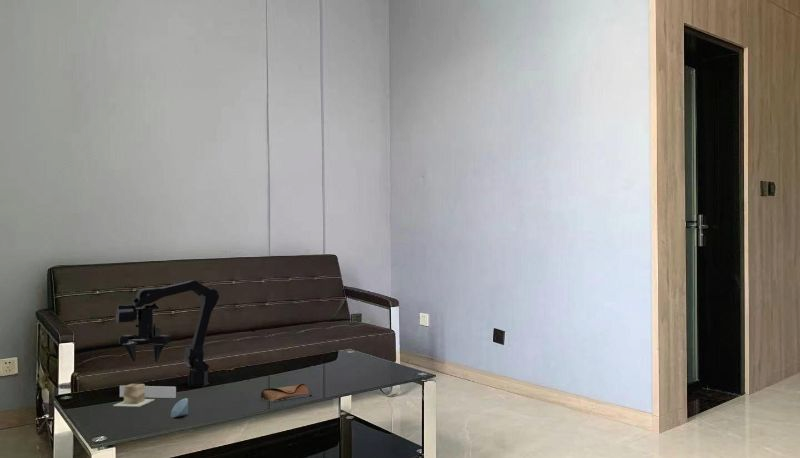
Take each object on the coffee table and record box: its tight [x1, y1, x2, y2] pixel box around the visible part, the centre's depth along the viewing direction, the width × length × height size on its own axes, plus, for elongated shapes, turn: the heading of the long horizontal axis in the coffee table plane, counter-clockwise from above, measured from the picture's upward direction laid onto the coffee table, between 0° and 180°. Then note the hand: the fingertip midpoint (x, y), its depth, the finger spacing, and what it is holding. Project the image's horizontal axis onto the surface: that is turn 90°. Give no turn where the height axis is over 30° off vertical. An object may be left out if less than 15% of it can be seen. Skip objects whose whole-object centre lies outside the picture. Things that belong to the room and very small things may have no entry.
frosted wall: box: [119, 385, 177, 399], centre depth 232 cm, size 22×1×4 cm, turn 82°
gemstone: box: [170, 397, 189, 419], centre depth 205 cm, size 8×8×5 cm
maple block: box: [123, 383, 146, 404], centre depth 223 cm, size 5×5×6 cm
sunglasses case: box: [260, 383, 310, 401], centre depth 230 cm, size 18×7×7 cm
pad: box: [112, 398, 156, 408], centre depth 223 cm, size 10×10×1 cm
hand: (145, 361), depth 239 cm, fingers open, 9 cm apart
